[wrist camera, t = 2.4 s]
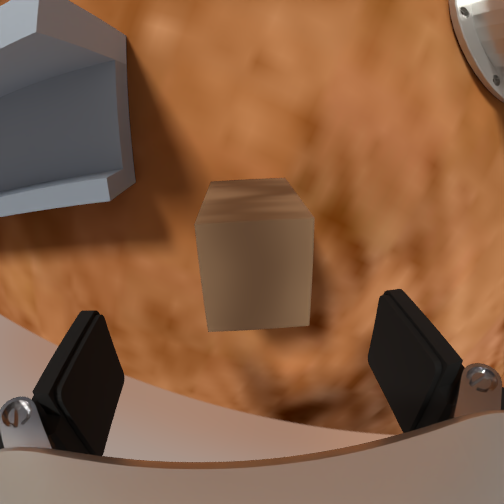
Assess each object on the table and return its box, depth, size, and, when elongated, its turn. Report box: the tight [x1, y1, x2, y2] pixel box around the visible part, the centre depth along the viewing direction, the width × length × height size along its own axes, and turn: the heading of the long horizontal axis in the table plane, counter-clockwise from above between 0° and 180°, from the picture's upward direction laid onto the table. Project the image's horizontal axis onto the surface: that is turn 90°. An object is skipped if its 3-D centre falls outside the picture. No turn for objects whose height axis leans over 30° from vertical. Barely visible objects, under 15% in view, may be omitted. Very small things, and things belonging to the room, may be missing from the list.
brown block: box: [195, 178, 314, 332], centre depth 17 cm, size 4×6×8 cm
